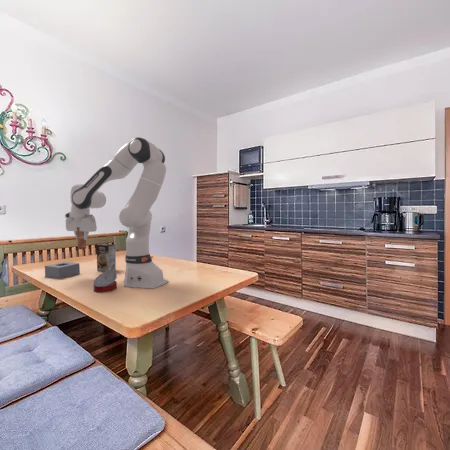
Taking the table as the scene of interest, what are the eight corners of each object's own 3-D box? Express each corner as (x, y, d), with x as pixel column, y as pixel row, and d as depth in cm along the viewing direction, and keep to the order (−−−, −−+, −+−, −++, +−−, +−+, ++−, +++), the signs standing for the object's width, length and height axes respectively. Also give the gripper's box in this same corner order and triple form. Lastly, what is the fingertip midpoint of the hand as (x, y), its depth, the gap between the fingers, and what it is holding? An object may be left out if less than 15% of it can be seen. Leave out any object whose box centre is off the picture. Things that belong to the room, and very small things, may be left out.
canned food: (117, 298, 119) (122, 281, 116) (94, 301, 112) (99, 283, 109) (110, 282, 127) (115, 266, 123) (88, 284, 120) (93, 267, 116)
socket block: (79, 273, 147) (79, 263, 147) (59, 278, 136) (58, 267, 136) (66, 271, 152) (65, 261, 152) (45, 276, 141) (44, 265, 141)
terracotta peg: (87, 248, 141) (87, 226, 140) (81, 249, 137) (80, 227, 136) (82, 248, 142) (82, 226, 142) (76, 249, 139) (75, 227, 138)
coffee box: (96, 270, 154) (95, 244, 153) (104, 268, 160) (104, 243, 159) (108, 272, 151) (107, 245, 150) (116, 269, 157) (115, 243, 156)
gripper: (99, 214, 137) (100, 239, 138) (73, 214, 145) (74, 238, 146) (88, 214, 132) (89, 240, 132) (62, 214, 140) (64, 239, 140)
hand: (81, 239), depth 139 cm, fingers closed on terracotta peg, 4 cm apart
